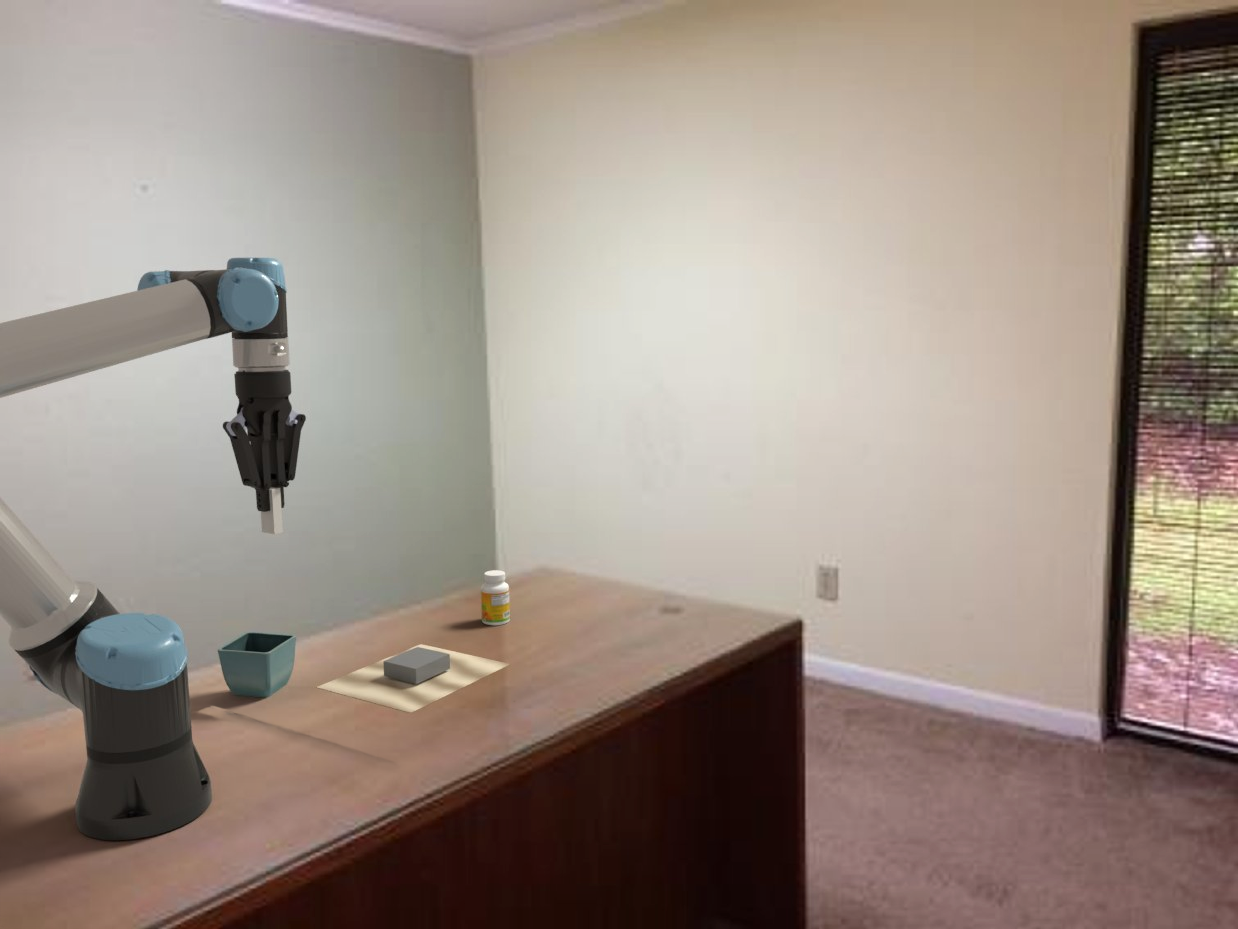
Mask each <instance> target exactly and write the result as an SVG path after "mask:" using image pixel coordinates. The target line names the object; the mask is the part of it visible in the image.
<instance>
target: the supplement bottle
mask: <svg viewBox="0 0 1238 929" xmlns="http://www.w3.org/2000/svg"><path fill="white" fill-rule="evenodd" d="M483 575H484V576H483V578H484V581H485V582H484V583H483V584H481V586H480V600H481V603H480V604H481V622H482V623H483V624H485V625H488V626H501V625H505V624H507V623H509V622H510V620H511V619H510V618H511V617H510V616H511V612H510V611H511V610H510V606H511V604H510V603H511V602H510V586H509V584H508V583H507V582H505V580H506V572H505V571H503V570H497V569H495V570H494V569H493V570H488V571H485V572H484V574H483Z"/></svg>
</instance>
